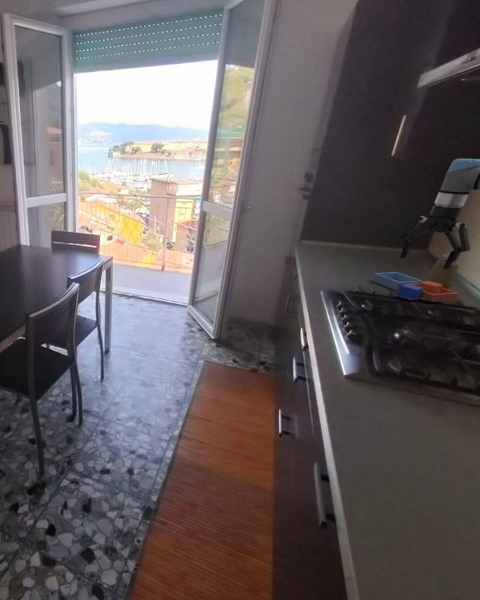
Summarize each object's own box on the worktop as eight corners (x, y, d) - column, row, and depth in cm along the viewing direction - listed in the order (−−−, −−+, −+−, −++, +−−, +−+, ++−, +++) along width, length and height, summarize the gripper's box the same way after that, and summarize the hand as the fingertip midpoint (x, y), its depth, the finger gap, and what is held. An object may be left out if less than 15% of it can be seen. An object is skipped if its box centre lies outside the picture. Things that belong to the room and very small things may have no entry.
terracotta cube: (438, 296, 140) (443, 284, 138) (431, 298, 138) (436, 286, 136) (422, 292, 144) (427, 280, 142) (415, 294, 142) (420, 282, 140)
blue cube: (418, 299, 138) (424, 287, 136) (411, 301, 136) (416, 289, 134) (403, 295, 142) (408, 283, 140) (396, 297, 141) (401, 285, 139)
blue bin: (419, 289, 148) (423, 281, 147) (396, 290, 147) (399, 282, 145) (393, 279, 159) (396, 271, 157) (371, 281, 157) (374, 273, 155)
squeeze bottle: (446, 288, 149) (464, 246, 142) (452, 294, 143) (472, 251, 136) (420, 284, 153) (437, 243, 146) (425, 290, 147) (443, 248, 139)
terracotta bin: (454, 301, 137) (458, 293, 135) (429, 303, 135) (433, 294, 133) (423, 290, 147) (427, 282, 145) (400, 292, 145) (403, 284, 144)
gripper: (502, 211, 116) (472, 272, 125) (412, 199, 137) (392, 252, 146) (491, 212, 113) (461, 275, 122) (401, 201, 134) (381, 254, 143)
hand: (423, 263), depth 134 cm, fingers open, 13 cm apart
